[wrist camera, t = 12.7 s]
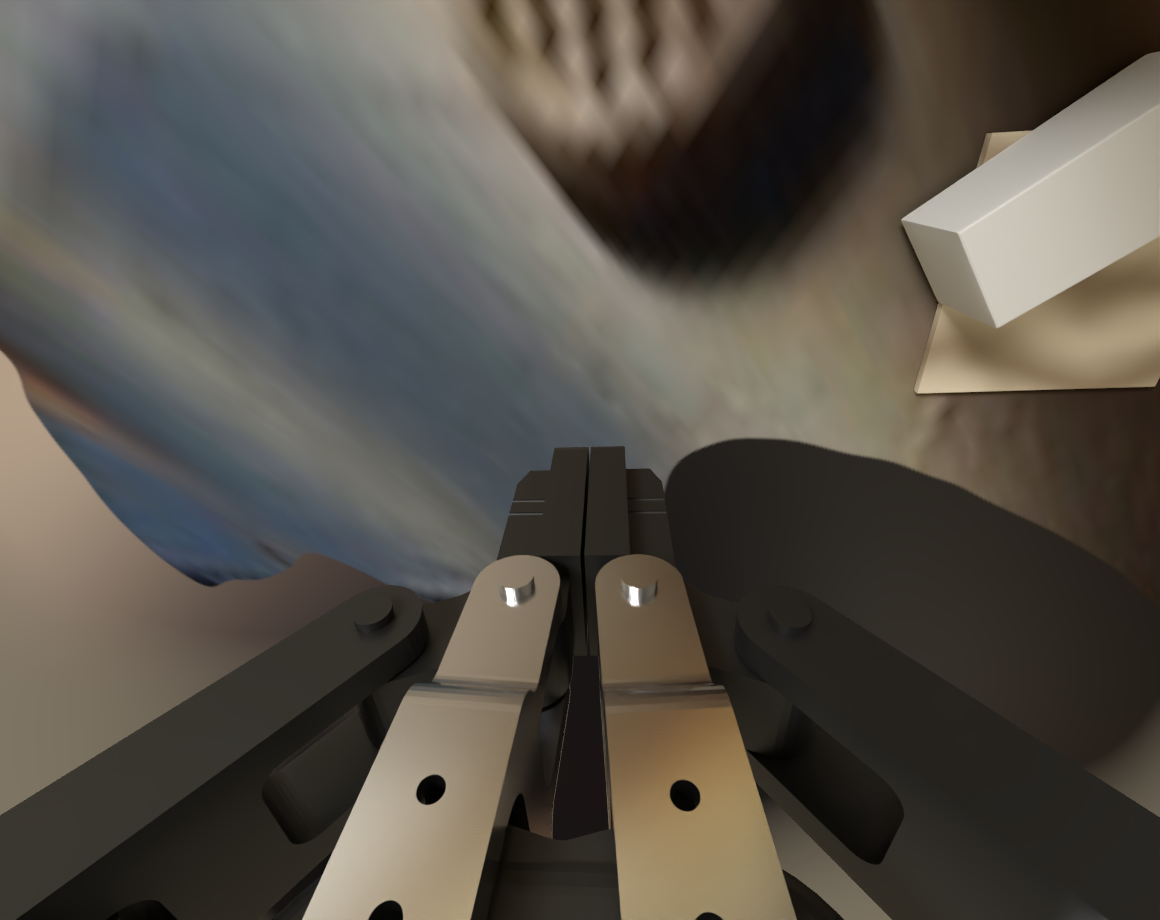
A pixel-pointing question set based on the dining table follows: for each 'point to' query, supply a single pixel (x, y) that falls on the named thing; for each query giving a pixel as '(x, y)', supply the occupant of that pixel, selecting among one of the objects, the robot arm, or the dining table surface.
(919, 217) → the milk carton
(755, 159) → the dining table surface
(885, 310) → the dining table surface
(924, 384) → the birch board
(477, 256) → the dining table surface
